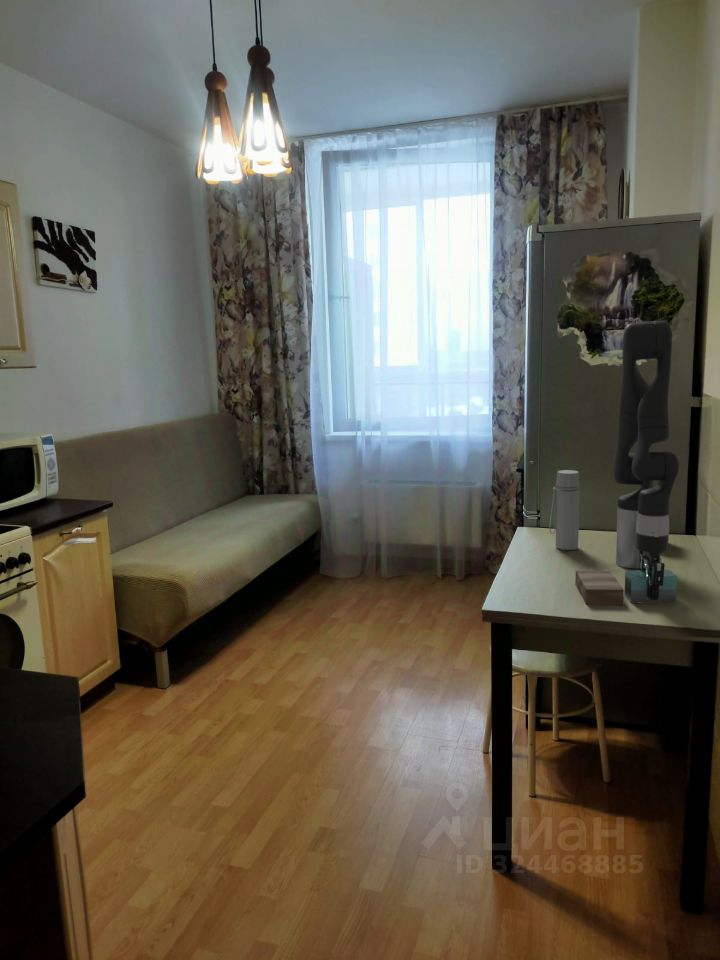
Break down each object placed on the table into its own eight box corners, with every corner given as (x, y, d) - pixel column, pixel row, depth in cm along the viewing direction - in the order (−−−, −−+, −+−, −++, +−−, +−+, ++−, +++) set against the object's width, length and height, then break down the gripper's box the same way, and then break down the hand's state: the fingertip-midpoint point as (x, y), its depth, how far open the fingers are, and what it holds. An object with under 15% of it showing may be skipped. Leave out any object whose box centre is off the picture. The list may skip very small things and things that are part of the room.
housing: (624, 596, 176) (625, 570, 175) (667, 595, 176) (668, 569, 174) (630, 603, 171) (631, 576, 170) (675, 602, 171) (676, 575, 169)
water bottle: (575, 544, 223) (577, 469, 219) (581, 551, 216) (582, 473, 211) (547, 544, 224) (548, 470, 220) (551, 551, 217) (552, 474, 212)
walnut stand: (575, 584, 186) (575, 570, 185) (609, 584, 185) (610, 570, 184) (585, 604, 171) (586, 589, 171) (623, 604, 170) (623, 589, 169)
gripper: (629, 524, 178) (627, 585, 181) (644, 538, 164) (641, 604, 167) (659, 523, 177) (656, 585, 180) (677, 538, 163) (674, 605, 166)
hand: (649, 594), depth 173 cm, fingers open, 6 cm apart
